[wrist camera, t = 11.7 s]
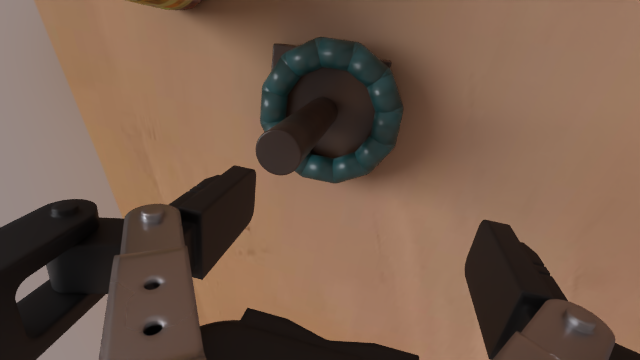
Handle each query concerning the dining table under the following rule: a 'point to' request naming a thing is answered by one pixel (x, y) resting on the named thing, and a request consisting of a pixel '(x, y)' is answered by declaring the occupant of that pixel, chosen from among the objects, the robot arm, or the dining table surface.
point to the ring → (365, 71)
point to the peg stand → (317, 119)
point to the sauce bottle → (169, 4)
